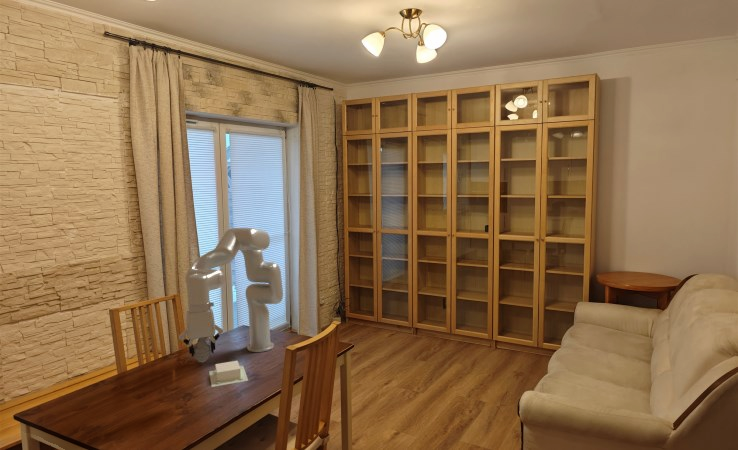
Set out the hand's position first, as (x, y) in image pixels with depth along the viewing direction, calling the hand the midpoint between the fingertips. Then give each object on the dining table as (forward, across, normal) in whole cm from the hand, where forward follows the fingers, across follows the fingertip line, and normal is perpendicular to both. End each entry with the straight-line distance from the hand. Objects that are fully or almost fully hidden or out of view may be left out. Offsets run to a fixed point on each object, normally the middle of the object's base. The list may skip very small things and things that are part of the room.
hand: (202, 353), depth 178 cm
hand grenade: (+3, 0, 0) cm, 3 cm away
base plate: (+18, -9, -12) cm, 23 cm away
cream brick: (+16, -10, -12) cm, 22 cm away
